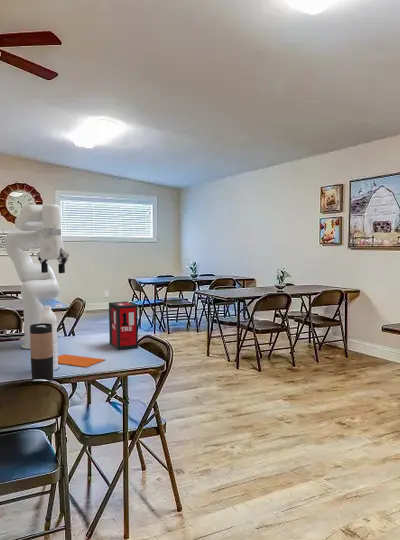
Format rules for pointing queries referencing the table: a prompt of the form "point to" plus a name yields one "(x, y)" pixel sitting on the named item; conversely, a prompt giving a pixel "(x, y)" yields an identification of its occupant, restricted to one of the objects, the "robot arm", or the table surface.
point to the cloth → (78, 360)
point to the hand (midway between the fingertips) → (53, 272)
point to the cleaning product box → (123, 325)
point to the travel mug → (41, 351)
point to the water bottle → (51, 319)
